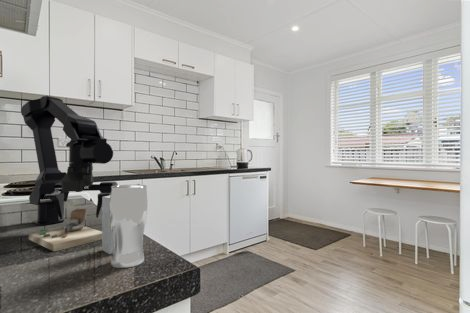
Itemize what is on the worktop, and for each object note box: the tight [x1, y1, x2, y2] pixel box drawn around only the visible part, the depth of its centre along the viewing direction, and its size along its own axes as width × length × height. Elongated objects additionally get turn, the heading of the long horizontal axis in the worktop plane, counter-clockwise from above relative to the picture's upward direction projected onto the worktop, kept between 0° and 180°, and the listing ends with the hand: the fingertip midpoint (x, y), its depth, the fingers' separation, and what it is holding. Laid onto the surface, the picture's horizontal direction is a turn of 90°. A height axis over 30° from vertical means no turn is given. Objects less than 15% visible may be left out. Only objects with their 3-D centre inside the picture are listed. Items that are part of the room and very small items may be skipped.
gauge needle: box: [63, 207, 88, 233], centre depth 69 cm, size 13×4×4 cm, turn 16°
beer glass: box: [109, 184, 148, 269], centre depth 51 cm, size 7×7×15 cm
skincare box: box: [101, 196, 114, 255], centre depth 58 cm, size 6×4×12 cm
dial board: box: [27, 225, 102, 252], centre depth 65 cm, size 14×12×2 cm
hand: (79, 218), depth 73 cm, fingers open, 9 cm apart
